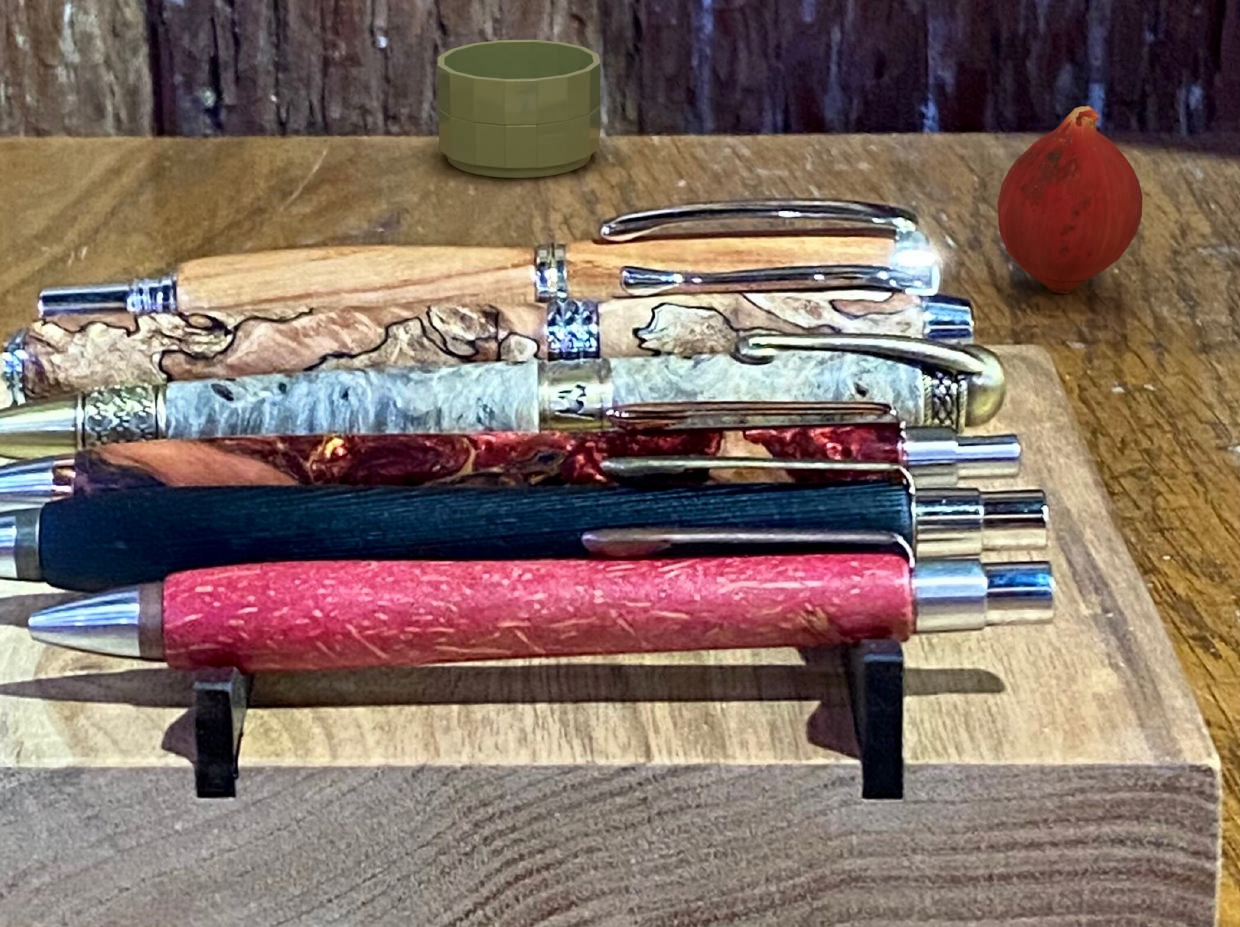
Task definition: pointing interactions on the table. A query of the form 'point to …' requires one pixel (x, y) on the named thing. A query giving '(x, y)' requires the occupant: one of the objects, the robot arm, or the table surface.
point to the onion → (1069, 204)
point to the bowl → (519, 107)
